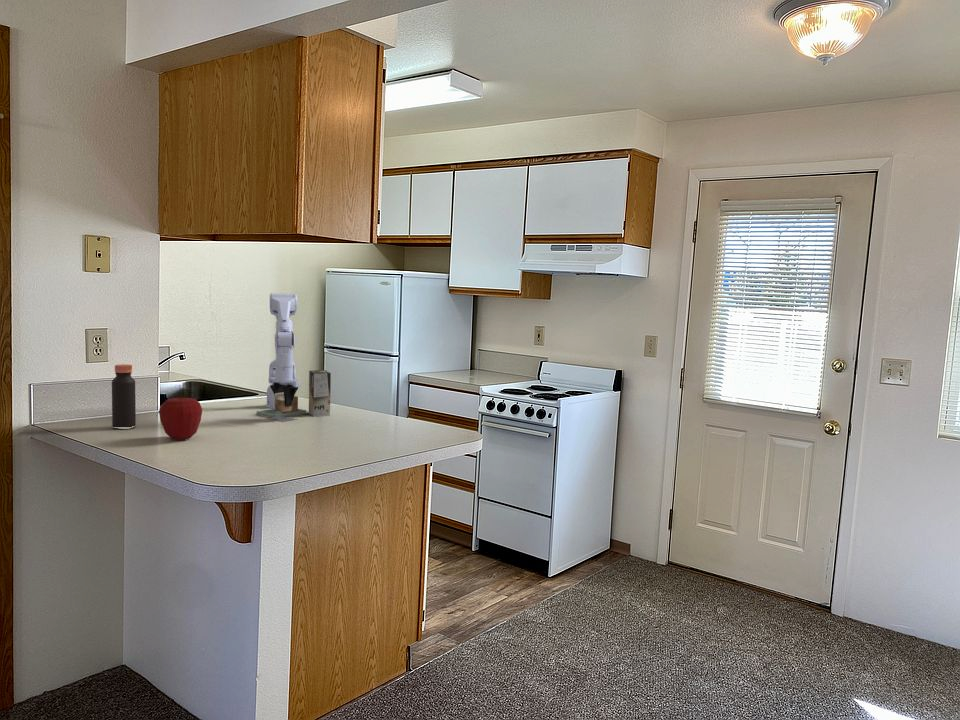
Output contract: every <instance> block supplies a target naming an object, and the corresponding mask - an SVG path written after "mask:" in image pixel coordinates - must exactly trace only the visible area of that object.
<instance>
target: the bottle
mask: <svg viewBox="0 0 960 720" xmlns="http://www.w3.org/2000/svg"><path fill="white" fill-rule="evenodd" d="M132 372H133V366H132V364H126V363H125V364H115V365H114V374H115V377H114V378H113V379H112V380H111V427H112V426H113V427H132V426H135V425H136V426H137V424H136V423H137V417H136V414H137V412H136V379H134V378H133V377H132Z"/></svg>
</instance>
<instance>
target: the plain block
mask: <svg viewBox="0 0 960 720" xmlns="http://www.w3.org/2000/svg"><path fill="white" fill-rule="evenodd" d="M298 409H299V396H296V395H294V398H293V401H292V411H287V412H282V413H289V412H296V411H298Z"/></svg>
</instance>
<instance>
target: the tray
mask: <svg viewBox="0 0 960 720" xmlns="http://www.w3.org/2000/svg"><path fill="white" fill-rule="evenodd" d="M306 414H307V410H306V409H302V408H298V411H296V412H289V413H282V412H279V411H275V408H270V409H264V410H263V409H262V410H256V415H257V416H261V417H267V418H269V419H275V418H282V417H288V418H289V417H292V416H293V417H294V416H300V415H306Z"/></svg>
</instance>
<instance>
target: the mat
mask: <svg viewBox="0 0 960 720" xmlns="http://www.w3.org/2000/svg"><path fill="white" fill-rule="evenodd" d="M298 420H299V419H298V418H292V417H289V416H288V417H281V418H269V421H274V422H278V423H286V422H293V421H298Z"/></svg>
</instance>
